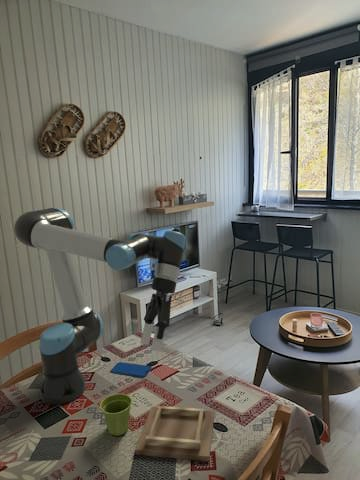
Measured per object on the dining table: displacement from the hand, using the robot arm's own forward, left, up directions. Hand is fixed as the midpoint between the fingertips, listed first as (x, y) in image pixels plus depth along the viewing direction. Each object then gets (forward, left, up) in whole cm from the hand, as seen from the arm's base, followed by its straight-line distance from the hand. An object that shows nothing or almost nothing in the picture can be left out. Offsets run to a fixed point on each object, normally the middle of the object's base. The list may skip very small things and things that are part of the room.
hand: (149, 347), depth 109 cm
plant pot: (-9, -8, -23) cm, 26 cm away
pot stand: (+9, -8, -23) cm, 26 cm away
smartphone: (-15, +24, -23) cm, 37 cm away
